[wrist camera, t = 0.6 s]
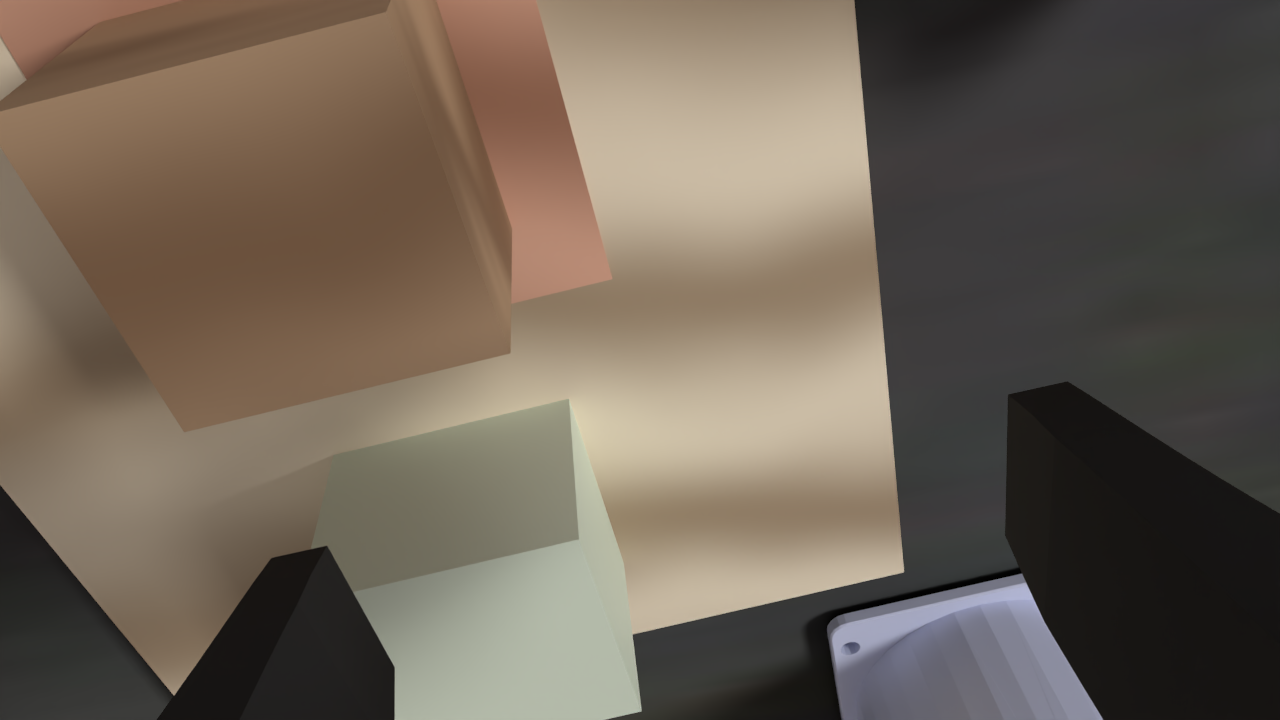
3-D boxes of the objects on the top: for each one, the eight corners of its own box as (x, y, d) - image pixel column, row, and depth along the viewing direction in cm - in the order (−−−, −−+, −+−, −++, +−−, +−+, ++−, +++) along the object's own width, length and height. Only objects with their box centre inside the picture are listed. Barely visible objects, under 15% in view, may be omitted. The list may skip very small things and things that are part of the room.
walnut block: (512, 229, 17) (510, 353, 14) (245, 294, 18) (183, 432, 14) (415, -61, 15) (385, 12, 11) (99, 21, 15) (-20, 117, 12)
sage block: (623, 563, 23) (641, 711, 19) (417, 611, 23) (400, 765, 20) (569, 398, 20) (578, 538, 16) (333, 454, 20) (296, 604, 17)
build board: (891, 542, 25) (904, 573, 24) (214, 698, 25) (203, 733, 24) (794, -465, 13) (813, -476, 12) (-437, -129, 14) (-500, -117, 13)
